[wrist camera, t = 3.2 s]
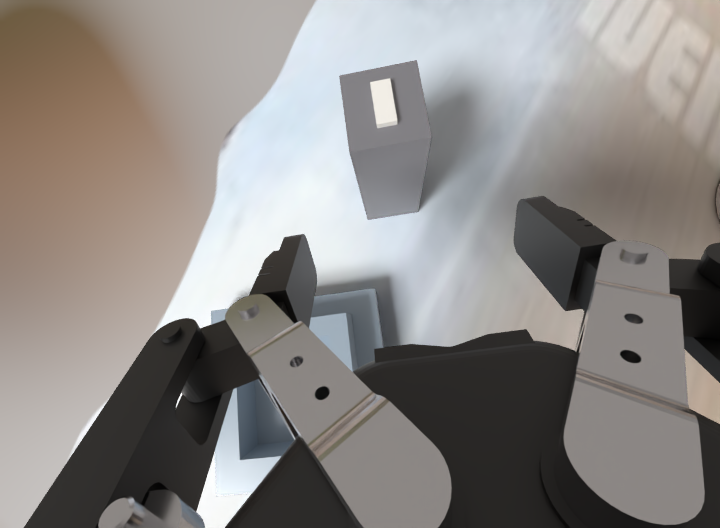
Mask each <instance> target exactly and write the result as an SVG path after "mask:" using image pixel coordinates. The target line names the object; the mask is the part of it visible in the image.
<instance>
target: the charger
mask: <svg viewBox="0 0 720 528" xmlns="http://www.w3.org/2000/svg"><path fill="white" fill-rule="evenodd" d="M339 77H340V84H341V92H342V99H343V107H344V114H345V122H346V129H347V137H348V144H349V152H350V156H351V159H352V163H353V167H354V171H355V174H356V178H357V182H358V185H359V189H360V193H361V196H362V200H363V204H364V208H365V211H366V215H367V219H368V220H370V219H377V218H383V217H389V216H395V215H401V214H408V213H414V212H418V210H419V204H420V199H421V194H422V188H423V183H424V177H425V172H426V166H427V161H428V155H429V150H430V145H431V139H432V135H431V130H430V125H429V120H428V115H427V110H426V105H425V100H424V94H423V89H422V84H421V79H420V74H419V69H418V64H417V60H415V61H410V62H405V63H400V64H395V65H390V66H385V67H381V68H376V69H371V70H366V71H361V72H356V73H351V74H346V75H341V76H339Z"/></svg>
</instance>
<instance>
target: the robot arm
mask: <svg viewBox="0 0 720 528" xmlns="http://www.w3.org/2000/svg"><path fill="white" fill-rule="evenodd" d="M716 207H717V215H718V217H719V220H720V183H719V186H718V188H717V195H716ZM514 246H515V249H516V252H517V253H518V255H519V256H520V257H521V258H522V260H523V261H524V262H525V263H526V264H527V266H528V267H529V268H530V269H531V270H532V272H533V273H534V274H535V275H536V276H537V278H538V279H539V280H540V281H541V282H542V284H543V285H544V286H545V287H546V288H547V290H548V291H549V292H550V293H551V294H552V296H553V297H554V298H555V299H556V301H557V302H558V303H559V304H560V305H561V307H562V308H563V309H564V310H565V311H569V310H577V309H583V310H584V311H585V312H584V315H583V319H582V323H581V327H580V331H579V335H578V339H577V343H576V348H575V351H574V350H571V349H569V348H566V347H563V346H560V345H556V344H551V343H547V342H540V341H533V339H532V337H531V336H530V334H529V333H528V331H527V330H526V329H525V330H517V331H509V332H501V333H494V334H487V335H484V336H481V337H479V338H476V339H473V340H470V341H467V342H464V343H462V344H459V345H456V346H452V347H442V346H429V345H415V344H408V345H400V346H392V347H385V348H377V349H374V355H375V360H374V361H372V362H369V363H367V364H365V365H363V366H361V367H359V368H357V369H356V370H354V371H353V372H352V371H351V370H350V369H349V368H348V367H347V366H346V365H345V364H344V363H343V362H342V361H341V360H340V359H339V358H338V357H337V356H336V355H335V354H334V353H333V352H332V351H331V350H330V349H329V348H328V347H327V346H326V345H325V344H324V343H323V342H322V341H321V340H320V339H319V338H318V337H317V336H316V335H315V334H314V333H313V332H312V331H311V330H310V329H309V326H310V320H311V314H312V308H313V302H314V296H315V291H316V285H317V274H316V269H315V265H314V262H313V258H312V255H311V252H310V248H309V245H308V242H307V239H306V237H305V235H304V234H301V235H295V236H289V237H285V238H284V239H283V242H282V245H281V247H280V250H279V251H273V252H272V253H271V254H270V255H269V256H268V257H267V258H266V259H265V261H264V263H263V265H262V267H261V268H262V269H261V270H260V272H259V274H258V275H259V276H257V279H256V281H255V283H254V285H253V288H252V290H251V292H250V294H249V296H247V297H244V298H242V299H240V300H238V301H237V302H235V303H234V304H233V305H232V306H231V307H230V308H229V309H228V310H227V312H226V314H225V320H223V321H220V322H217V323H215V324H212V325H209V326H206V327H203V328H201V329H200V328H199V326H198V324H197V323H196V321H195V320H193V319H189V318H185V319H179V320H176V321H173V322H171V323H169V324H167V325H165V326H163V327H162V328H160V329H159V330H157V331H156V332H155V333H154V334H153V335H152V336H151V337H150V339H149V340H148V342H147V343H146V345H145V346H144V348H143V349H142V351H141V352H140V354H139V355H138V357H137V358H136V360H135V361H134V363H133V364H132V366H131V367H130V369H129V370H128V372H127V373H126V375H125V376H124V378H123V379H122V381H121V382H120V384H119V385H118V387H117V388H116V390H115V391H114V393H113V394H112V396H111V397H110V399H109V400H108V402H107V403H106V405H105V406H104V408H103V409H102V411H101V412H100V414H99V415H98V417H97V418H96V420H95V421H94V423H93V424H92V426H91V427H90V429H89V430H88V432H87V433H86V435H85V436H84V438H83V439H82V441H81V442H80V444H79V445H78V447H77V448H76V450H75V451H74V453H73V454H72V456H71V457H70V459H69V460H68V462H67V463H66V465H65V466H64V468H63V469H62V471H61V473H60V474H59V475H58V477H57V479H56V480H55V482H54V483H53V485H52V486H51V488H50V489H49V491H48V492H47V494H46V495H45V497H44V498H43V500H42V501H41V503H40V504H39V506H38V508H37V509H36V510H35V512H34V513H33V515H32V516H31V518H30V519H29V521H28V522H27V524H26V525H25V527H24V528H205V526H204V522H203V519H202V518H201V516H200V515H199V514H198V513H196V511H197V507H198V504H199V501H200V497H201V494H202V491H203V488H204V484H205V481H206V478H207V474H208V471H209V468H210V465H211V461H212V458H213V455H214V451H215V448H216V445H217V442H218V438H219V435H220V432H221V428H222V425H223V422H224V419H225V415H226V412H227V409H228V405H229V402H230V399H231V396H232V392H233V389H235V388H238V387H240V386H242V385H245V384H247V383H250V382H252V381H255V380H257V379H258V380H259V382H260V384H261V385H262V387H263V388H264V390H265V392H266V393H267V395H268V397H269V398H270V400H271V401H272V403H273V405H274V406H275V408H276V409H277V411H278V413H279V414H280V416H281V418H282V419H283V421H284V423H285V424H286V426H287V428H288V430H289V431H290V433H291V435H292V436H293V438H294V441H293V442H292V444H291V445H290V446H289V447H288V449H287V450H286V451H285V452H284V454H283V455H282V456H281V457H280V459H279V460H278V461H277V463H276V464H275V465H274V466H273V468H272V469H271V470H270V471H269V473H268V474H267V475H266V476H265V478H264V479H263V480H262V481H261V483H260V484H259V485H258V486H257V488H256V489H255V490H254V491H253V493H252V494H251V495H250V497H249V498H248V499H247V500H246V502H245V503H244V504H243V505H242V507H241V508H240V509H239V510H238V512H237V513H236V514H235V515H234V517H233V518H232V519H231V520H230V522H229V523H228V524H227V526H226V527H225V528H720V424H718V423H716V422H714V421H712V420H710V419H708V418H706V417H704V416H703V415H701V414H699V413H697V412H695V411H693V410H691V409H689V406H688V397H687V382H686V367H685V352H684V349H685V350H686V351H687V352H688V353H689V354H690V355H691V356H692V357H693V358H695V359H696V360H697V361H698V362H699V363H700V364H701V365H702V366H703V367H704V368H705V369H706V370H707V371H708V372H709V373H710V374H711V375H712V376H713V377H714V378H715V379H716V380H717V381H718V382H719V383H720V243H715V244H711V245H709V246H708V247H707V248H706V250H705V252H704V254H703V256H702V258H701V260H691V259H669V258H668V255H667V254H666V253H665V252H664V251H663V250H661V249H659V248H657V247H655V246H653V245H650V244H647V243H643V242H637V241H625V240H624V241H616V240H615V239H613V238H612V237H610V236H609V235H607V234H606V233H605V232H603V231H602V230H600V229H599V228H597V227H596V226H593V224H592V223H590V222H589V221H587V220H585V218H583V217H582V216H580V215H579V214H577V213H576V212H574V211H572V210H569V209H566V208H563V207H558V206H557V205H556V204H554V203H553V202H551V201H550V200H549V199H547V198H546V197H544V196H539V197H533V198H527V199H521V200H520V201H519V202H518V205H517V213H516V222H515V232H514ZM181 393H182V394H183V395H182V397H181V399H180V401H179V403H178V406H177V408H176V403H177V400H178V398H179V396H180V394H181Z"/></svg>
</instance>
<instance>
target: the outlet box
mask: <svg viewBox="0 0 720 528" xmlns="http://www.w3.org/2000/svg"><path fill="white" fill-rule="evenodd" d="M227 310H228V309H222V310H215V311H211V324H215V323H217V322H220V321H223V320H225V314H226V312H227ZM309 329H310V330H311V331H312V332H313V333H314V334H315V335H316V336H317V337H318V338H319V339H320V340H321V341H322V342H323V343H324V344H325V345H326V346H327V347H328V348H329V349H330V350H331V351H332V352H333V353H334V354H335V355H336V356H337V357H338V358H339V359H340V360H341V361H342V362H343V363H344V364H345V365H346V366H347V367H348V368H349V369H350V370H351V371H352V372H353V371H354V370H356V369H357V368H359V367H361V366H363V365H365V364H367V363H369V362H372V361H374V360H375V355H374V349H377V348H384V345H383V337H382V330H381V323H380V316H379V309H378V301H377V294H376V290H375V288H370V289H363V290H356V291H349V292H342V293H335V294H328V295H321V296H314V302H313V308H312V314H311V320H310V326H309ZM293 441H294V438H293V436H292V435H291V433H290V431H289V430H288V428H287V426H286V424H285V423H284V421H283V419H282V418H281V416H280V414H279V413H278V411H277V409H276V408H275V406H274V405H273V403H272V401H271V400H270V398H269V397H268V395H267V393H266V392H265V390H264V388H263V387H262V385H261V384H260V382H259V380H258V379H257V380H255V381H252V382H250V383H247V384H245V385H242V386H240V387H238V388H235V389H233V392H232V396H231V399H230V402H229V405H228V409H227V412H226V415H225V419H224V422H223V425H222V428H221V432H220V435H219V438H218V442H217V445H216V448H215V469H216V496H225V495H236V494H248V493H253V491H254V490H255V489H256V488H257V486H258V485H259V484H260V483H261V481H262V480H263V479H264V478H265V476H266V475H267V474H268V473H269V471H270V470H271V469H272V468H273V466H274V465H275V464H276V463H277V461H278V460H279V459H280V457H281V456H282V455H283V454H284V452H285V451H286V450H287V449H288V447H289V446H290V445H291V444H292V442H293Z"/></svg>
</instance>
